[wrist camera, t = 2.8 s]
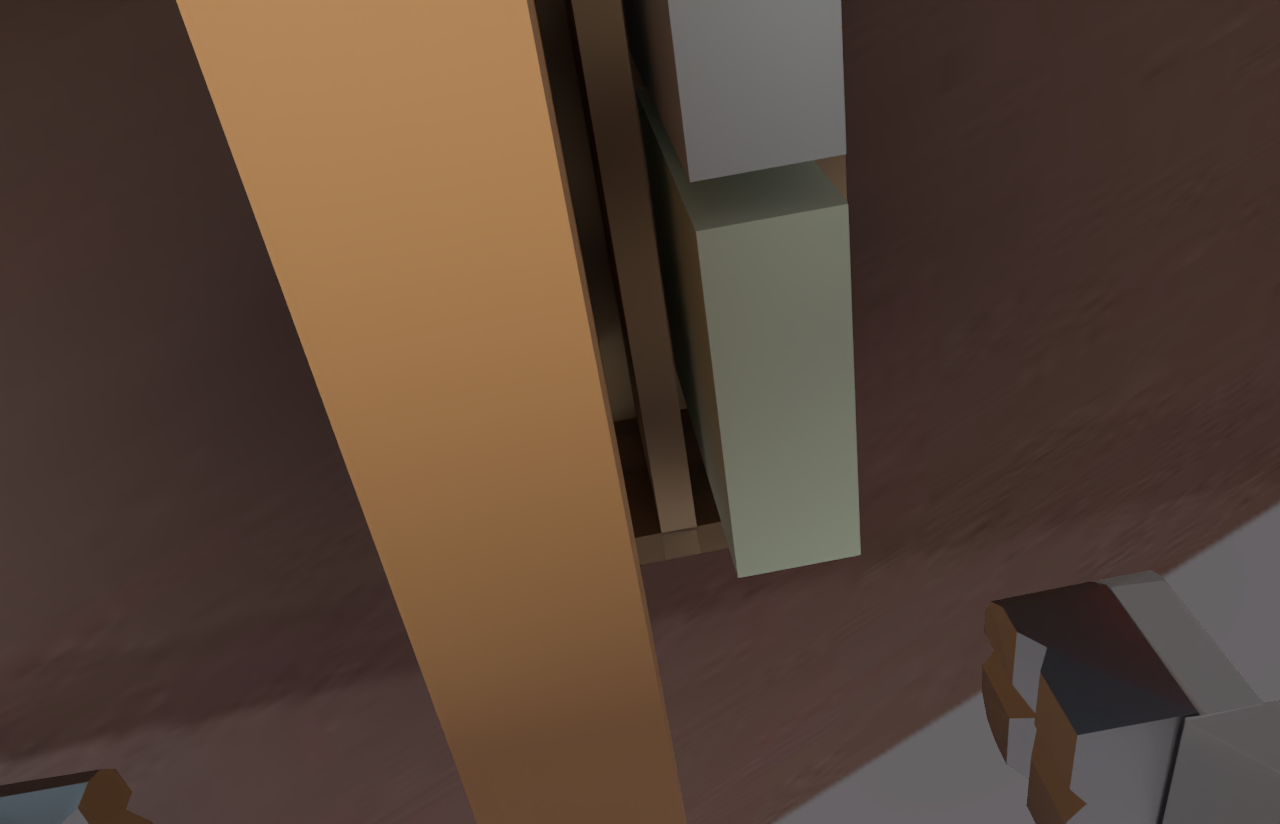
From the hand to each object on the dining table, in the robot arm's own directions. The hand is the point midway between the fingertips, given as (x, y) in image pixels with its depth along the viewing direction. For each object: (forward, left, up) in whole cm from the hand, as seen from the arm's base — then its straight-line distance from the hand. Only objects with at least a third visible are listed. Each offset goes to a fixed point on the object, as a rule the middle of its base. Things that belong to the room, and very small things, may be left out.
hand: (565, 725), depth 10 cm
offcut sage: (-5, -5, -22) cm, 23 cm away
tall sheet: (0, 0, -22) cm, 22 cm away
